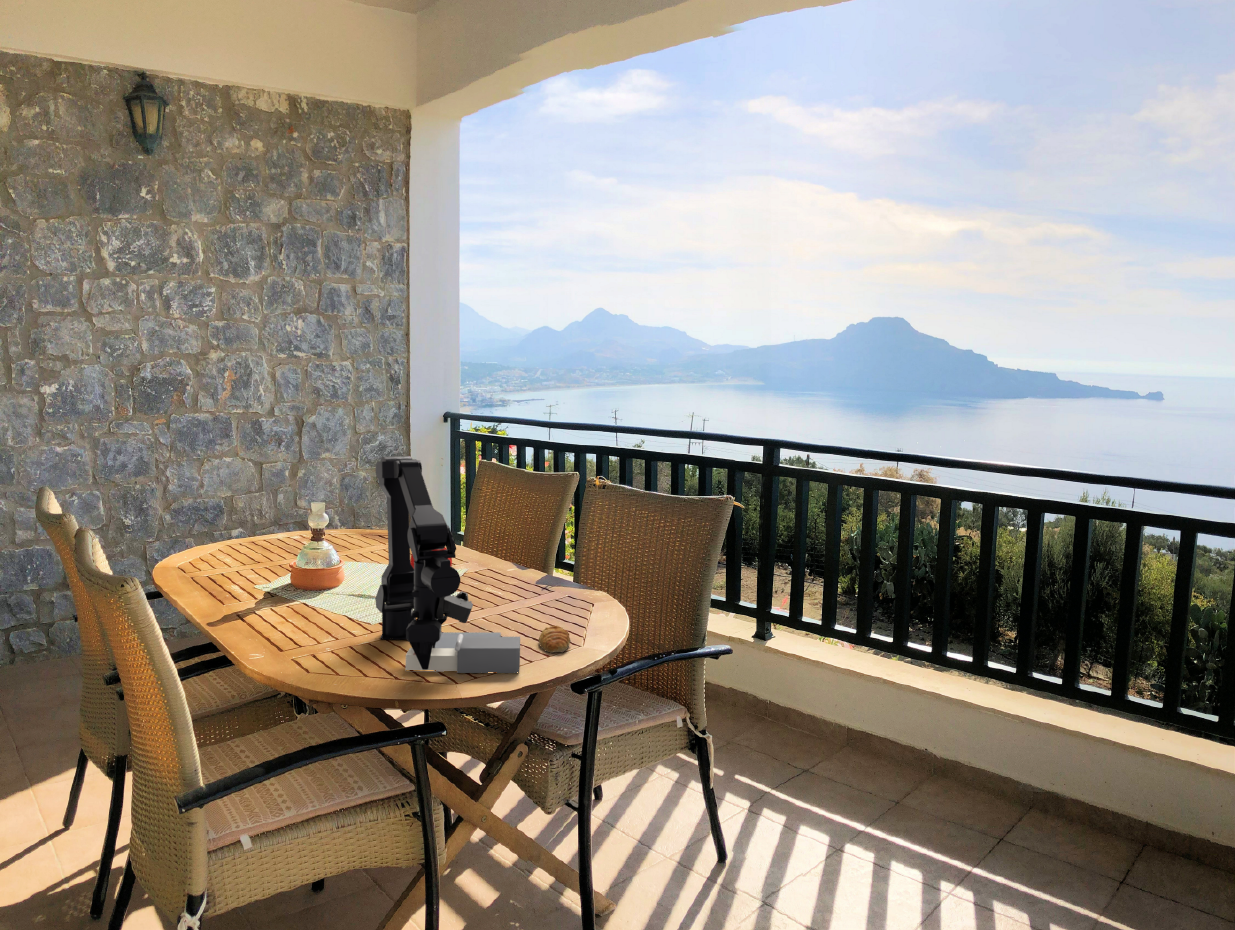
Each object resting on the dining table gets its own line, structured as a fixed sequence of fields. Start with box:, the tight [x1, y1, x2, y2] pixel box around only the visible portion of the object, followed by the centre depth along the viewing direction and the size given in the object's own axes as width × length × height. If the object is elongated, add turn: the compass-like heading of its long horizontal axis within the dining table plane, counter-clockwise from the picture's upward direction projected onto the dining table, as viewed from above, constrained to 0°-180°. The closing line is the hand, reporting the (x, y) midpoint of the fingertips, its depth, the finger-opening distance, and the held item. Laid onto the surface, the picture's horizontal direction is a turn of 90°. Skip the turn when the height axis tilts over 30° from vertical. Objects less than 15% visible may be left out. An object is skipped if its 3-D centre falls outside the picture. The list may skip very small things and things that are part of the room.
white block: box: [405, 647, 458, 672], centre depth 170 cm, size 14×4×4 cm, turn 93°
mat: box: [435, 631, 502, 648], centre depth 184 cm, size 17×13×1 cm
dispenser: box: [455, 634, 521, 674], centre depth 171 cm, size 12×8×6 cm, turn 96°
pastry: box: [538, 625, 572, 654], centre depth 185 cm, size 9×7×4 cm
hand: (428, 661), depth 170 cm, fingers open, 9 cm apart
